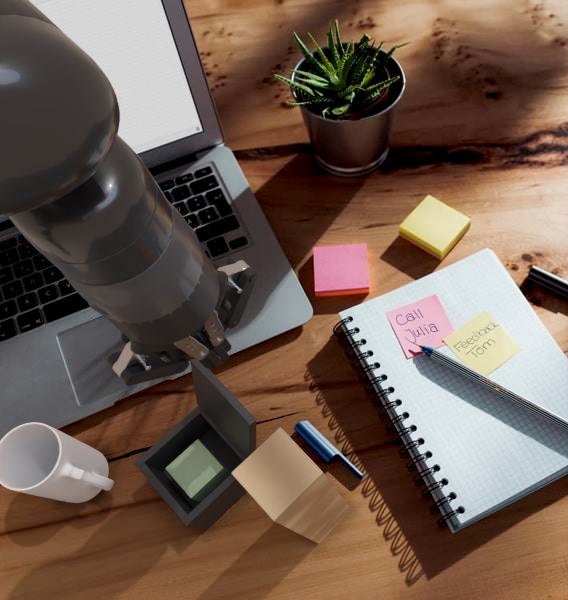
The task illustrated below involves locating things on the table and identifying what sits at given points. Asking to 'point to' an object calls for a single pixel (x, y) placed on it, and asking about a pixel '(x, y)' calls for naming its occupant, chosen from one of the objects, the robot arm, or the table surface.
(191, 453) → the block
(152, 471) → the grey lidded box
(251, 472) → the stand
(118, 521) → the table surface
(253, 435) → the open box flap
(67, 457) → the mug
